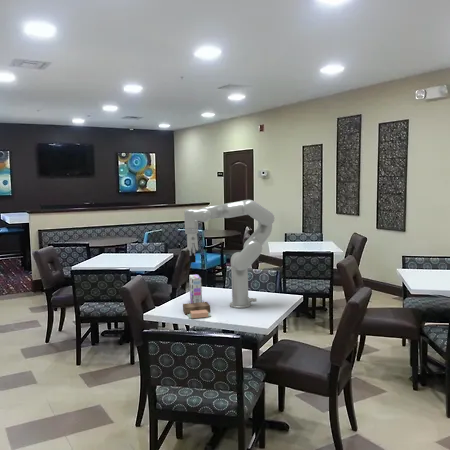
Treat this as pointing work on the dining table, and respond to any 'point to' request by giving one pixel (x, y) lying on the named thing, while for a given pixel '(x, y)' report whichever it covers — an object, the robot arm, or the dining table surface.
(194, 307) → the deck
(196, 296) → the candy box
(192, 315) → the tile
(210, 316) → the mat
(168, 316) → the dining table surface
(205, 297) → the dining table surface
